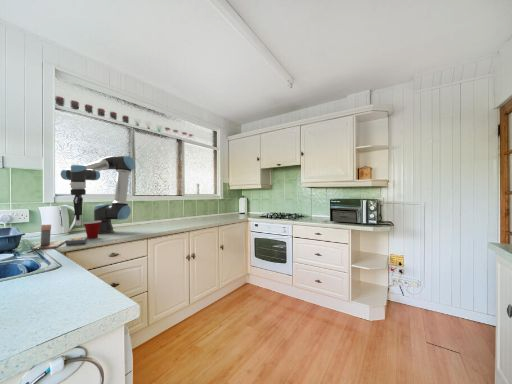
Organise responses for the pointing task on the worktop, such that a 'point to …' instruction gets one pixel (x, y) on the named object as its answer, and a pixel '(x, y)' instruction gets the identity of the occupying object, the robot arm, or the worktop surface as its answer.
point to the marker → (45, 235)
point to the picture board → (52, 245)
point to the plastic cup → (92, 228)
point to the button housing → (77, 241)
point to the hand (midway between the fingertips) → (78, 225)
